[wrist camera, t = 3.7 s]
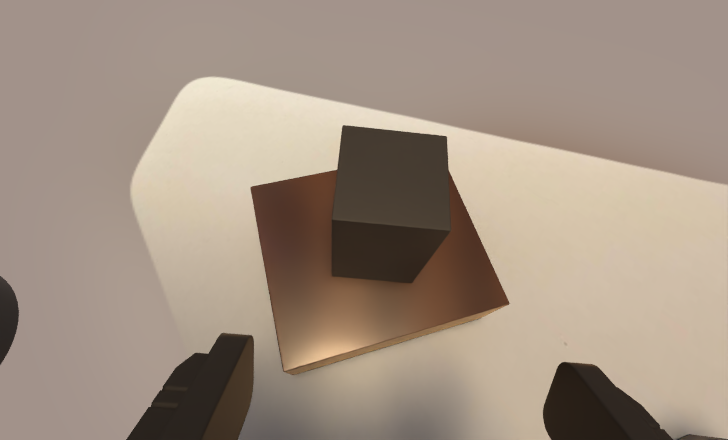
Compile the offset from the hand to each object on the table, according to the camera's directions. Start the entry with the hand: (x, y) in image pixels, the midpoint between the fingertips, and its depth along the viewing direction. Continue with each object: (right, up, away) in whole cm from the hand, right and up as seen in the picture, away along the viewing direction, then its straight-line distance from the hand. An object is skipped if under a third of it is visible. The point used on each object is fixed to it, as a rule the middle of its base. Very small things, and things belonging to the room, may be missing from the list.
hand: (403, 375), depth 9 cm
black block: (0, +3, +14) cm, 14 cm away
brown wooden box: (-1, 0, +18) cm, 18 cm away
